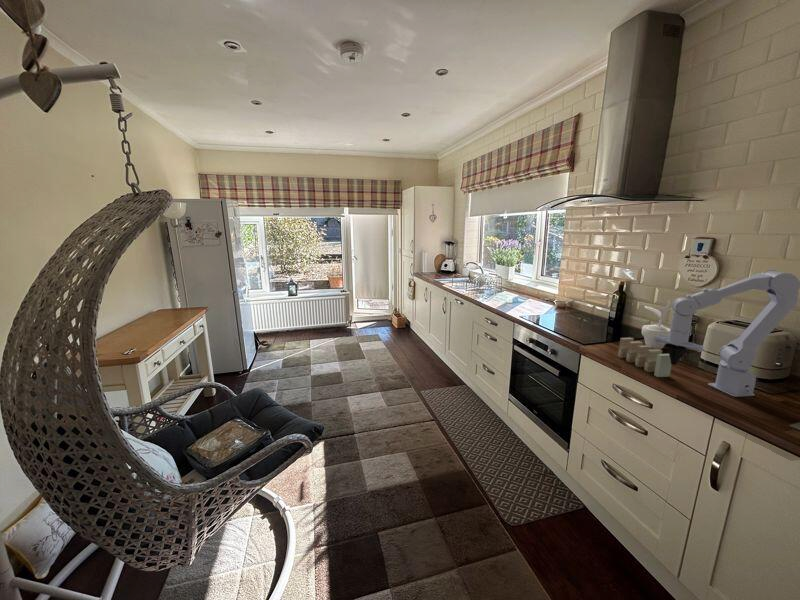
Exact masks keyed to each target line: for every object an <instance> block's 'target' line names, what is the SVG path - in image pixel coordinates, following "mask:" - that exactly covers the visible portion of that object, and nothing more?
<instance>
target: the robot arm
mask: <svg viewBox="0 0 800 600" xmlns="http://www.w3.org/2000/svg"><path fill="white" fill-rule="evenodd" d="M751 290H760V291H765V292H766V293H767V295H768V297H769V299H770V301H769V302H768V303H767V304H766V306H765V307H764V308H763V310H761V312H760V313H759V314H758V315H757V316H756V317H755V318H754V320H752V322H751V323H750V324H749V326H747V327H746V329H744V330H743V332H742V333H741V334H740V335H739V337H737V338H736V339H733V340H732V339H731V340H730V342H729V343H727V344H726V345H723V346H722V347H720V348H719V350H718V355H719V358H720V361H719V364H718V368H717V373H716V374H717V375H716V379H715V382H709V383H708V386H710V387H712V388H714V389H716V390H719V391H720V392H723V393H726V394H727V395H730V396H732V397H734V398H735V397H736V398H737V397H754V396H755V395H756V394H755V393H754V390H755V386H756V383H757V382H756V381H757V377H756V375H755V374H754V373H751V372H750V371H749V370H748V369H749V368H751V367H752V366H753V363H754V359H755V358H756V356H758V355H757V350H758V349H757V348H758V347H759V346H760V344H762V343H763V341H764V340H766V338H767V337H768V336H769V335H770V334H771V333H772V332H773V331H774V329H775V328H777V327H778V325H779V324H780V323H781V322H782V321H783V320H784V319H785V317H786V316H788V314H789V313H790V312H791V311H792V310H793V309H794V308H795V307H796V305H797V304H798V299H799V290H800V280H799V279H798V277H797V276H796V275H794V274H792V273H787V272H783V271H779V270H776V269H768V270H764V271H763V272H758V273H754V274H752V275H751V276H748V277H746V278H743V279H741V280H739V281H735V282H733V283H731V284H728V285H725V286H723V287H720V288H718V289H715V288H706V287H705V288H702V289H701V291H698V292H696V293H694V294H693V293H692V294H686V297H677V298H676V299H675V300H674V301H673V302H672V303H671V306H672V308H671V309H673V312H672V316H671V322H670V326H669V328H670V333H669V338H667V337H661V336H655V337H654V341H655V342H662V343H666V344H665V345H666V349H667V352H668V354H669V355H670V359H671V364H672V365H673V366H676V365H678V363H679V361H680V359H681V357H682V356H683V355H684V353H685V352H686V351H687V350H693V351H697V352H699V353H702V352H704V348H705V347H704V345H702V344H696V343H694V342H690V341H689V339H690V333H691V327H692V321H693V315H695V314H696V312H697V311H699V310H703V309H705V308H708V307H713V306H714V305H718V304H720V303H721V302H722V301H723V299H724V298H728V297H730V296H731V297H732V296H734V295H737V294H742V293H745V292H747V291H751Z"/></svg>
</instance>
